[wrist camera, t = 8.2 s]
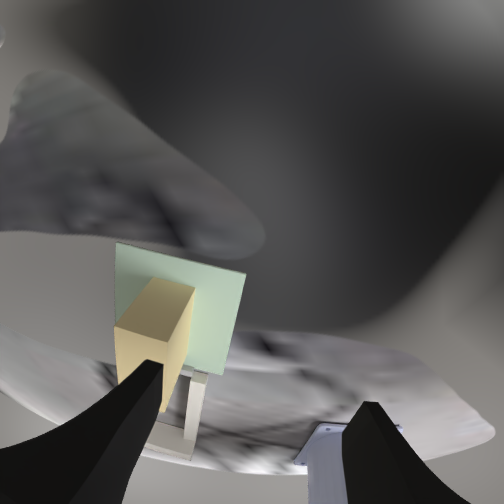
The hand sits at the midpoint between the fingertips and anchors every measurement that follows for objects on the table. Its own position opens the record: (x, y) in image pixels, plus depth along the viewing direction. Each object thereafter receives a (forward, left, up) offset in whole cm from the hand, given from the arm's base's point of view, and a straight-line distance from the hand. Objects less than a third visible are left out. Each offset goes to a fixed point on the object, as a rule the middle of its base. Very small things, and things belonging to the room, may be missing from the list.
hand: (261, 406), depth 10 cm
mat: (+6, +5, -10) cm, 13 cm away
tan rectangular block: (+6, +5, -10) cm, 13 cm away
